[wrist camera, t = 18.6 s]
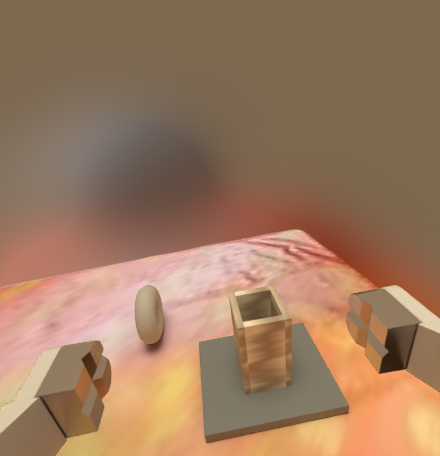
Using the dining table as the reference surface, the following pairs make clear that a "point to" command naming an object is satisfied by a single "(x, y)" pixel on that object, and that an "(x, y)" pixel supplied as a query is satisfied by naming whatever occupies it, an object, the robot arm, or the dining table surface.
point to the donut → (149, 314)
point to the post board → (267, 400)
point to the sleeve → (262, 339)
